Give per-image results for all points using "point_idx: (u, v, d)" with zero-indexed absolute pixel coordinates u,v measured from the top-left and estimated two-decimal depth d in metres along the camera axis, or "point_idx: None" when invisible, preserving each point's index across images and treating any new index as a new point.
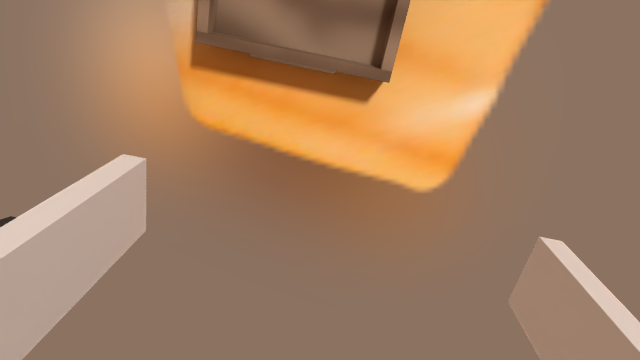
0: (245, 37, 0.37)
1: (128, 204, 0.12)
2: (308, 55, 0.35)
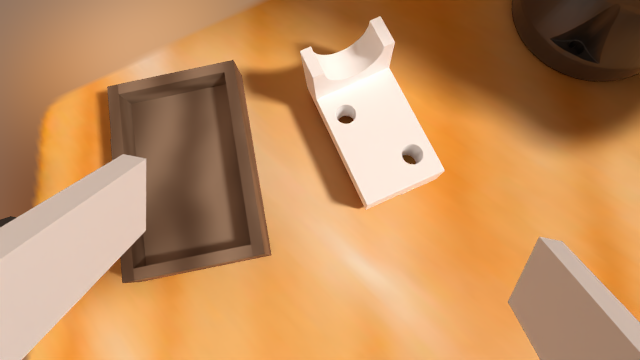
0: (135, 131, 0.37)
1: (128, 204, 0.12)
2: None
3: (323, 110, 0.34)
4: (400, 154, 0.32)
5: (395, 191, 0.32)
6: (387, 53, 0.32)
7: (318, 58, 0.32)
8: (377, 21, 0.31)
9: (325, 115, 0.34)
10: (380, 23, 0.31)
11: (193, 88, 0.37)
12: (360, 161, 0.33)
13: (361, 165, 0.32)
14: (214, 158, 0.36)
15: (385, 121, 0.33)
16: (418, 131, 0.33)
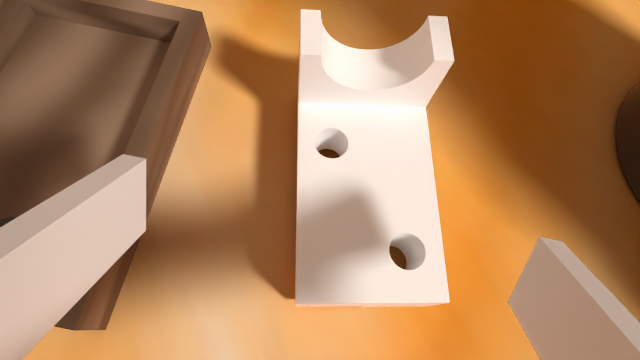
0: (15, 51, 0.23)
1: (128, 204, 0.12)
2: None
3: (300, 122, 0.20)
4: (388, 242, 0.18)
5: (353, 300, 0.17)
6: (434, 77, 0.19)
7: (325, 38, 0.19)
8: (439, 21, 0.18)
9: (300, 131, 0.20)
10: (443, 26, 0.18)
11: (131, 30, 0.24)
12: (319, 224, 0.19)
13: (318, 231, 0.18)
14: (103, 137, 0.22)
15: (386, 180, 0.20)
16: (431, 219, 0.19)
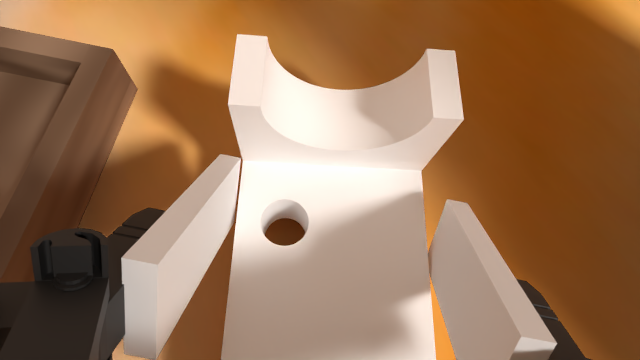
0: None
1: (229, 198, 0.13)
2: None
3: (243, 190, 0.14)
4: None
5: None
6: (433, 138, 0.13)
7: (277, 75, 0.13)
8: (443, 58, 0.12)
9: (241, 202, 0.14)
10: (448, 65, 0.12)
11: (25, 71, 0.18)
12: (255, 351, 0.13)
13: None
14: None
15: (358, 282, 0.14)
16: (423, 345, 0.13)
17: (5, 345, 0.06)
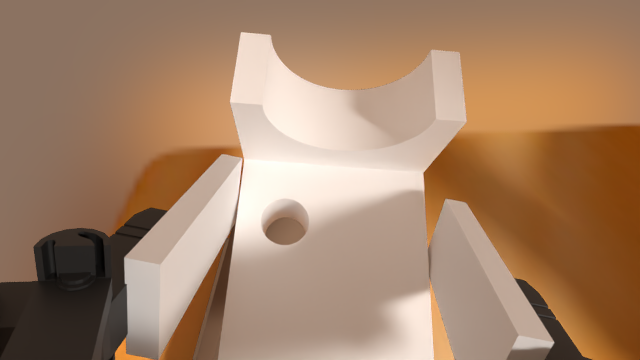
0: None
1: (230, 198, 0.13)
2: (220, 322, 0.24)
3: (244, 188, 0.14)
4: None
5: None
6: (435, 140, 0.13)
7: (280, 74, 0.13)
8: (447, 59, 0.12)
9: (241, 201, 0.14)
10: (452, 66, 0.12)
11: None
12: (252, 350, 0.12)
13: None
14: None
15: (358, 283, 0.14)
16: (421, 348, 0.13)
17: (9, 344, 0.06)
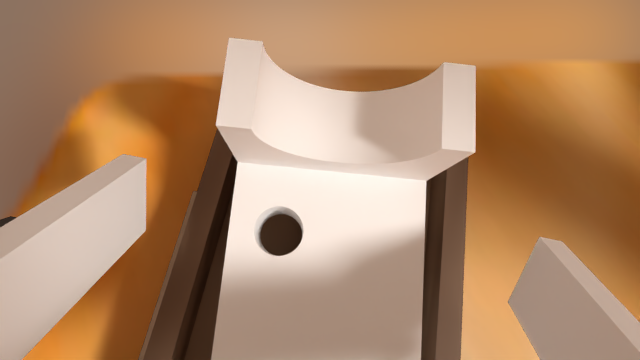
0: None
1: (128, 204, 0.12)
2: (179, 319, 0.15)
3: (237, 194, 0.14)
4: None
5: None
6: (440, 162, 0.12)
7: (275, 81, 0.12)
8: (461, 74, 0.11)
9: (234, 208, 0.14)
10: (465, 84, 0.11)
11: None
12: None
13: None
14: None
15: (350, 297, 0.13)
16: None
17: None
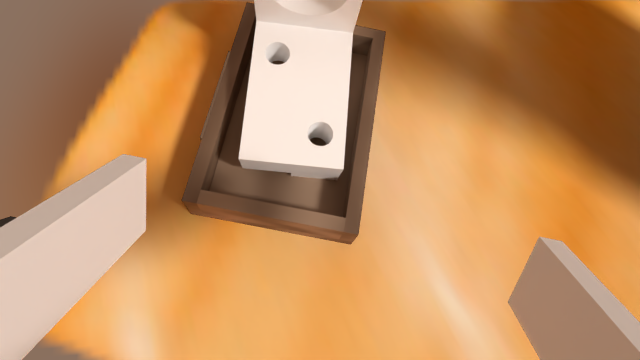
0: (250, 59, 0.33)
1: (128, 204, 0.12)
2: (225, 106, 0.28)
3: (256, 36, 0.28)
4: (307, 126, 0.26)
5: (277, 161, 0.26)
6: (352, 8, 0.26)
7: None
8: None
9: (255, 42, 0.27)
10: None
11: None
12: (260, 109, 0.26)
13: (259, 114, 0.26)
14: None
15: (313, 84, 0.27)
16: (341, 114, 0.27)
17: None
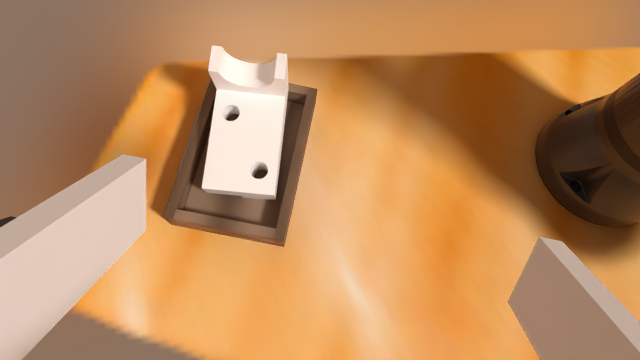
0: None
1: (128, 204, 0.12)
2: (195, 149, 0.40)
3: (216, 100, 0.39)
4: (250, 165, 0.38)
5: (228, 190, 0.38)
6: (279, 84, 0.37)
7: (227, 59, 0.37)
8: (282, 56, 0.36)
9: (215, 105, 0.39)
10: (283, 59, 0.36)
11: None
12: (217, 153, 0.38)
13: (217, 156, 0.38)
14: None
15: (255, 135, 0.39)
16: (274, 156, 0.39)
17: None
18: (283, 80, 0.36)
